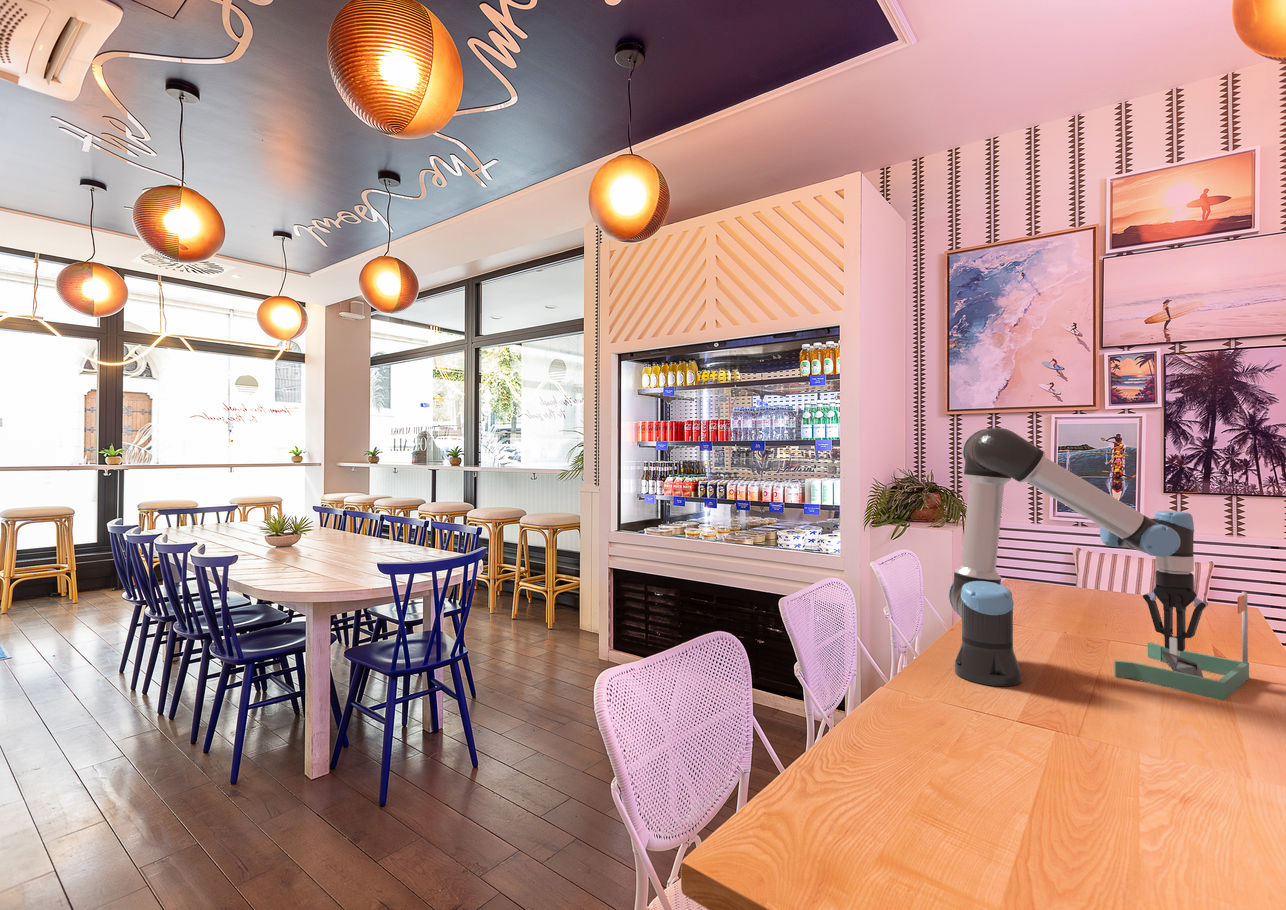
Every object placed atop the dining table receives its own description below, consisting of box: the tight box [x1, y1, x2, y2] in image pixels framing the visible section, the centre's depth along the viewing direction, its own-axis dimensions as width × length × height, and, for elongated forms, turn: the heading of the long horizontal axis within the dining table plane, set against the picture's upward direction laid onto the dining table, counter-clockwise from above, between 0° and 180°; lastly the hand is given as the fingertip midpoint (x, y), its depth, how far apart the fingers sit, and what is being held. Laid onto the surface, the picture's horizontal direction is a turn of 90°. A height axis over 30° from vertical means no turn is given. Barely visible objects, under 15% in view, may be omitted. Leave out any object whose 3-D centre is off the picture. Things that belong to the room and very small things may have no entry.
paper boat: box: [1161, 650, 1204, 677], centre depth 156 cm, size 12×6×9 cm
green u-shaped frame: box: [1113, 591, 1250, 701], centre depth 159 cm, size 21×27×22 cm
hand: (1174, 662), depth 160 cm, fingers closed
